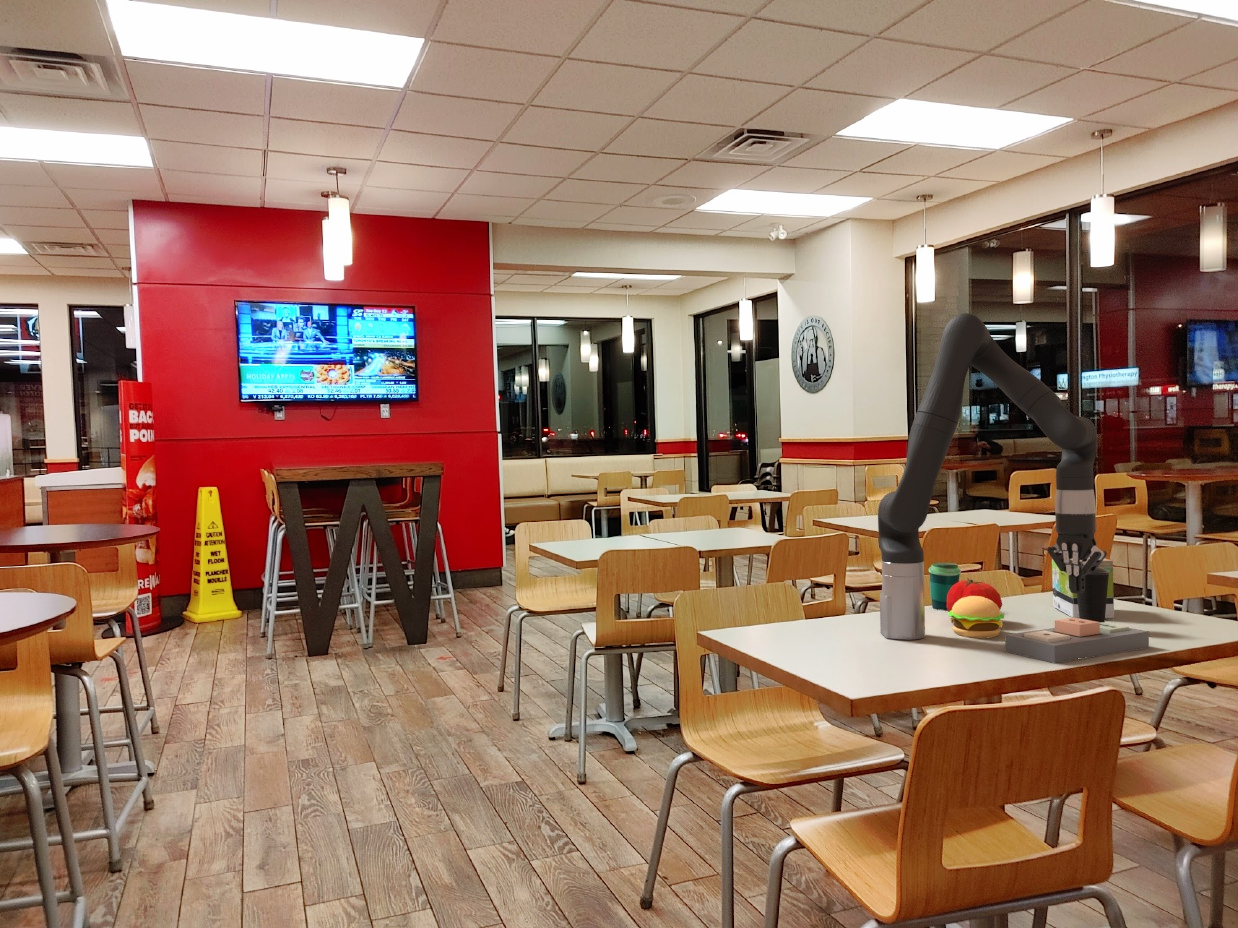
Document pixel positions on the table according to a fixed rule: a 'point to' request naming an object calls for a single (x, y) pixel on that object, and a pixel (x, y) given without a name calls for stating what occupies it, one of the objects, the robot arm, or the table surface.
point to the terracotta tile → (1077, 627)
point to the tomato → (972, 592)
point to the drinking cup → (1094, 596)
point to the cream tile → (1046, 636)
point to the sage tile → (1112, 628)
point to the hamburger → (976, 617)
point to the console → (1076, 645)
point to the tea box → (1069, 600)
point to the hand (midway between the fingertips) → (1077, 593)
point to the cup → (942, 582)
